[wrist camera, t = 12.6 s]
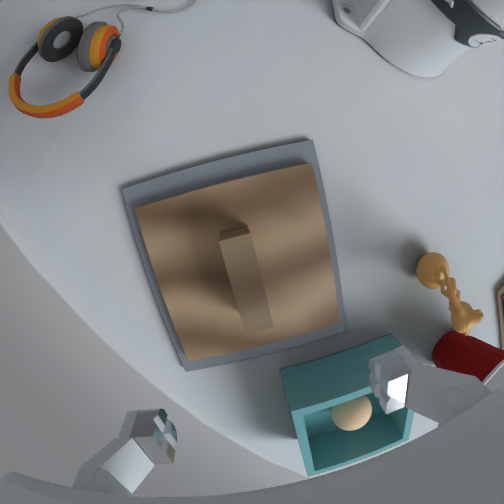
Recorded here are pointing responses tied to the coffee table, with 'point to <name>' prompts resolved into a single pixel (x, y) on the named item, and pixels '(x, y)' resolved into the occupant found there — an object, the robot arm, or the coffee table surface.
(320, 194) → the mat
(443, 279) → the figurine
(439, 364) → the plastic cup
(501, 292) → the hardcover book
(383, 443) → the open box
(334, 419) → the ball
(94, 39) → the headphones
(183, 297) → the lid
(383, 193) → the coffee table surface
